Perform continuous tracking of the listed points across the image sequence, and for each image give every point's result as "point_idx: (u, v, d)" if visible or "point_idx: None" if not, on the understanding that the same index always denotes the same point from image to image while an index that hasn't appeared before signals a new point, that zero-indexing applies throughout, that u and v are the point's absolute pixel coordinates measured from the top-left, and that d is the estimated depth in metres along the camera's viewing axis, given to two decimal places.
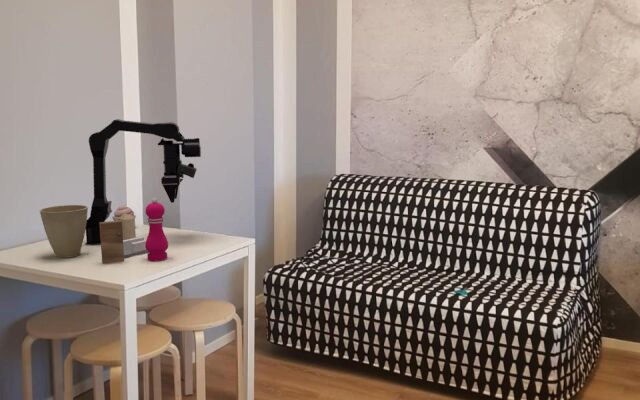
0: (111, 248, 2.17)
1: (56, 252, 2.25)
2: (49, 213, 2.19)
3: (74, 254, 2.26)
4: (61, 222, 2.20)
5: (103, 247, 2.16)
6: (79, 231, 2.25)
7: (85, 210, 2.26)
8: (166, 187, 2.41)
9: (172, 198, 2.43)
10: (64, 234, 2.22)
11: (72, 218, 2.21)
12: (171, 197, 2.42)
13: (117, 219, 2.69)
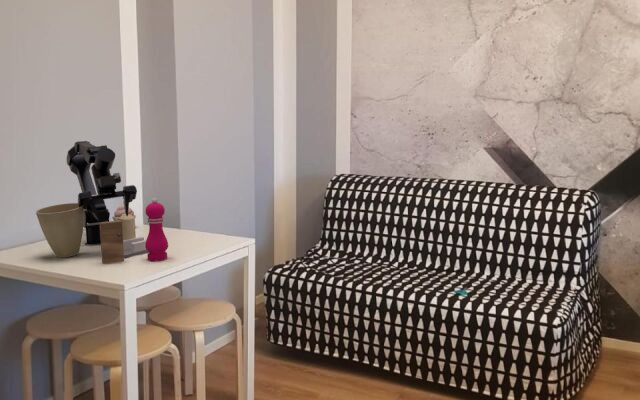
0: (111, 248, 2.17)
1: (56, 252, 2.25)
2: (45, 214, 2.18)
3: (74, 252, 2.26)
4: (58, 222, 2.19)
5: (103, 247, 2.16)
6: (77, 230, 2.24)
7: (81, 208, 2.25)
8: (89, 208, 2.26)
9: (95, 216, 2.24)
10: (62, 234, 2.21)
11: (69, 217, 2.20)
12: (95, 215, 2.24)
13: (117, 219, 2.69)
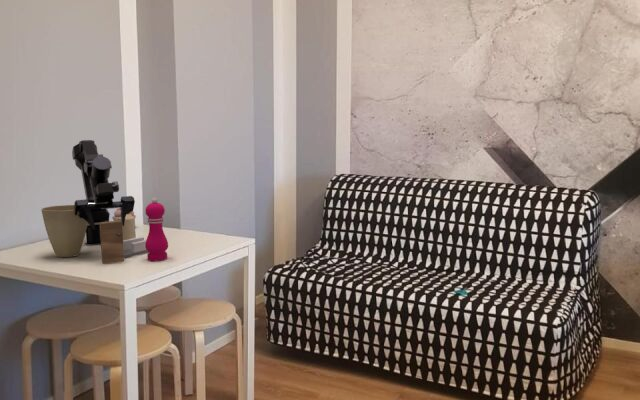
0: (111, 248, 2.17)
1: (56, 251, 2.25)
2: (50, 212, 2.20)
3: (74, 253, 2.26)
4: (63, 221, 2.21)
5: (103, 247, 2.16)
6: (80, 231, 2.25)
7: None
8: (85, 217, 2.22)
9: (91, 224, 2.19)
10: (65, 233, 2.22)
11: (74, 217, 2.22)
12: (90, 223, 2.19)
13: (117, 219, 2.69)
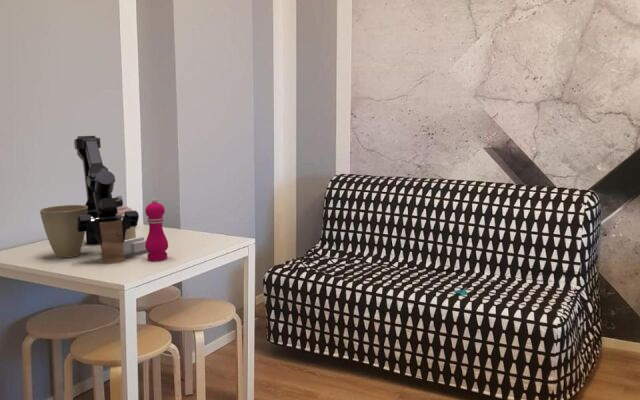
0: (111, 248, 2.17)
1: (56, 252, 2.25)
2: (49, 213, 2.19)
3: (74, 253, 2.26)
4: (61, 222, 2.20)
5: (103, 247, 2.16)
6: None
7: (85, 210, 2.26)
8: (92, 232, 2.18)
9: (98, 239, 2.16)
10: (64, 234, 2.22)
11: (72, 217, 2.21)
12: (97, 238, 2.16)
13: None
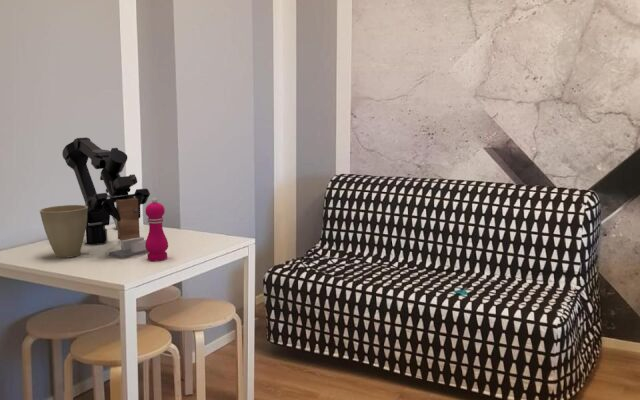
0: (128, 224, 2.24)
1: (56, 252, 2.25)
2: (49, 213, 2.19)
3: (74, 253, 2.26)
4: (61, 222, 2.20)
5: (121, 224, 2.22)
6: (79, 231, 2.25)
7: (85, 210, 2.26)
8: (107, 210, 2.24)
9: (116, 216, 2.22)
10: (64, 234, 2.22)
11: (72, 218, 2.21)
12: (115, 216, 2.22)
13: None
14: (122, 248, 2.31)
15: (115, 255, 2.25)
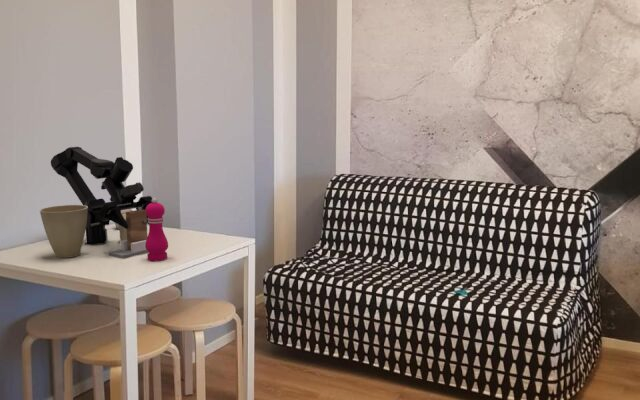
0: (138, 235, 2.30)
1: (56, 252, 2.25)
2: (49, 213, 2.19)
3: (74, 254, 2.26)
4: (61, 222, 2.20)
5: (132, 235, 2.28)
6: (79, 231, 2.25)
7: (85, 210, 2.26)
8: (113, 218, 2.28)
9: (124, 224, 2.27)
10: (64, 234, 2.22)
11: (72, 218, 2.21)
12: (122, 224, 2.27)
13: None
14: (122, 248, 2.31)
15: (115, 255, 2.25)
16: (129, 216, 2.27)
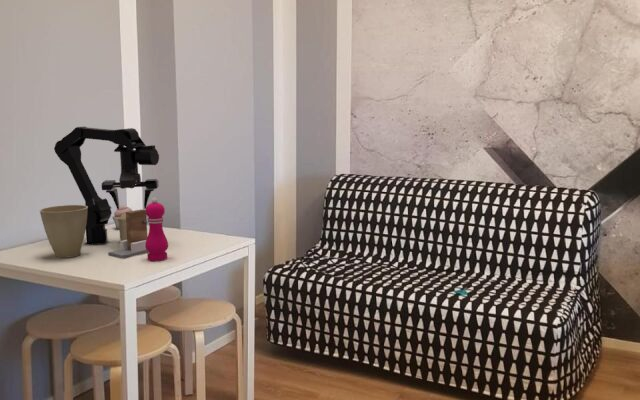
0: (138, 235, 2.30)
1: (56, 252, 2.25)
2: (49, 213, 2.19)
3: (74, 253, 2.26)
4: (61, 222, 2.20)
5: (132, 235, 2.28)
6: (79, 231, 2.25)
7: (85, 210, 2.26)
8: None
9: None
10: (64, 234, 2.22)
11: (72, 218, 2.21)
12: None
13: (117, 219, 2.69)
14: (122, 248, 2.31)
15: (115, 255, 2.25)
16: (129, 216, 2.27)
